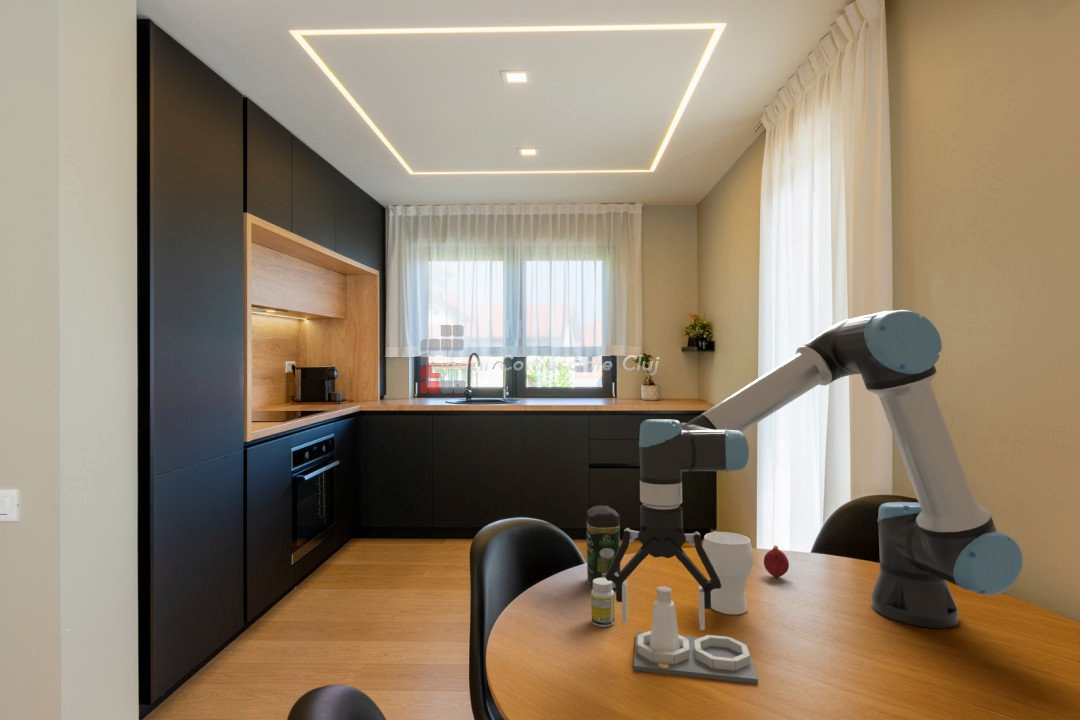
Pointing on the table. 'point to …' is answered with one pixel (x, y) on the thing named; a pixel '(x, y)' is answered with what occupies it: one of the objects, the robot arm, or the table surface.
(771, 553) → the onion
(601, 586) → the supplement bottle
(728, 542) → the cup
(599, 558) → the coffee jar
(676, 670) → the collar board
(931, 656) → the table surface
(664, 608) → the pepper shaker
